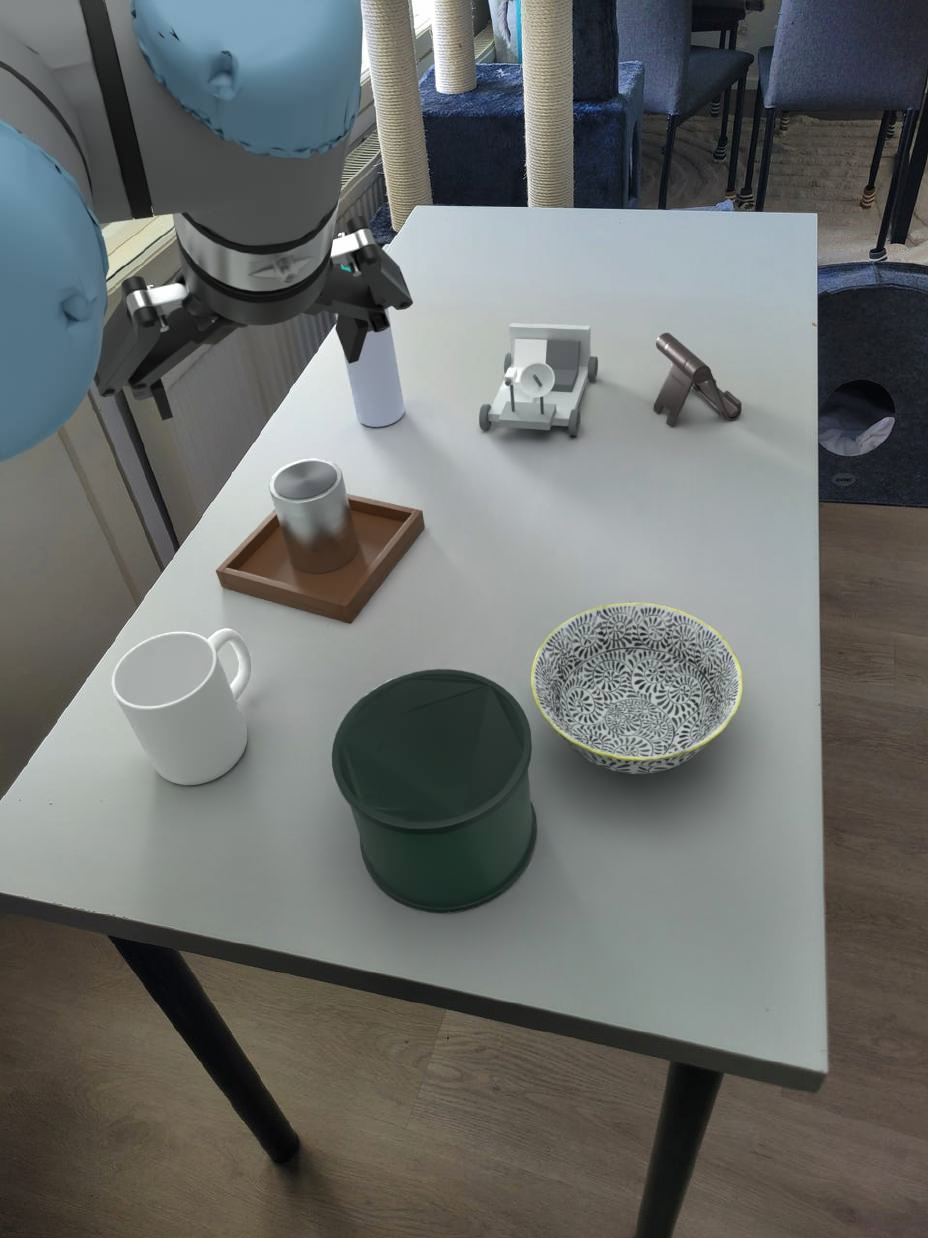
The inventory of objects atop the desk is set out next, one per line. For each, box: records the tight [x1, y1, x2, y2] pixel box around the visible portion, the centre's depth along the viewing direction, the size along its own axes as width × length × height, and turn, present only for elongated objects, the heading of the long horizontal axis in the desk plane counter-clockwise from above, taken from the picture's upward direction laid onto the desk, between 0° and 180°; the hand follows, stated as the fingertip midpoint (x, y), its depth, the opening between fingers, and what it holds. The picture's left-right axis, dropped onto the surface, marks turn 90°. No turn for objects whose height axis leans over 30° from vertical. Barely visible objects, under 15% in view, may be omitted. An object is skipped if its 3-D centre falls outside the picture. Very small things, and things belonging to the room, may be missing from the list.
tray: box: [215, 493, 426, 624], centre depth 96 cm, size 16×16×2 cm
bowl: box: [530, 602, 744, 775], centre depth 73 cm, size 16×16×8 cm
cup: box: [110, 628, 252, 786], centre depth 77 cm, size 8×12×10 cm
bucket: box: [331, 668, 538, 914], centre depth 67 cm, size 14×14×11 cm
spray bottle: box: [334, 264, 405, 428], centre depth 108 cm, size 6×6×22 cm
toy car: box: [478, 322, 599, 437], centre depth 110 cm, size 18×10×12 cm
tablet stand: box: [652, 332, 743, 427], centre depth 107 cm, size 9×8×8 cm
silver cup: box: [268, 458, 358, 573], centre depth 93 cm, size 7×7×9 cm
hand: (256, 372), depth 65 cm, fingers open, 13 cm apart
